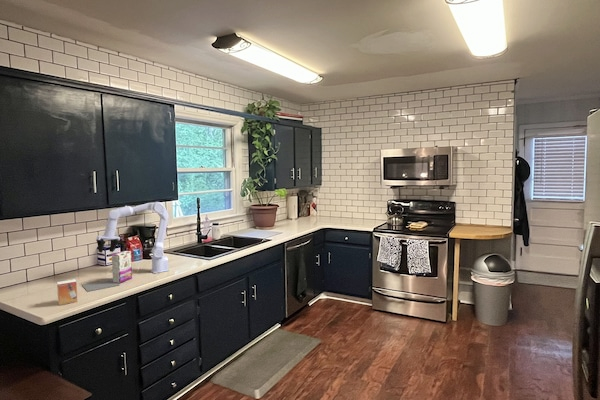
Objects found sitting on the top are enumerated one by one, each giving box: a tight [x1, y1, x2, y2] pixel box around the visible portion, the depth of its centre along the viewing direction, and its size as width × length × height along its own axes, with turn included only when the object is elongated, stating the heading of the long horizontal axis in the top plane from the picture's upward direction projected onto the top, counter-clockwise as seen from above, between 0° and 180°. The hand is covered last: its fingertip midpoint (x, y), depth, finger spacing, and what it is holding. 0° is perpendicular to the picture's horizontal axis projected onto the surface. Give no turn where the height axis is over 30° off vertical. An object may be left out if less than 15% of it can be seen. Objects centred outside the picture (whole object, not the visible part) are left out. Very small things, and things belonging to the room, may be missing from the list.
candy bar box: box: [111, 250, 133, 284], centre depth 218 cm, size 11×5×16 cm, turn 168°
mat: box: [81, 278, 120, 293], centre depth 212 cm, size 16×16×1 cm
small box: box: [56, 278, 78, 306], centre depth 185 cm, size 8×6×10 cm
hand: (105, 251), depth 223 cm, fingers open, 7 cm apart
